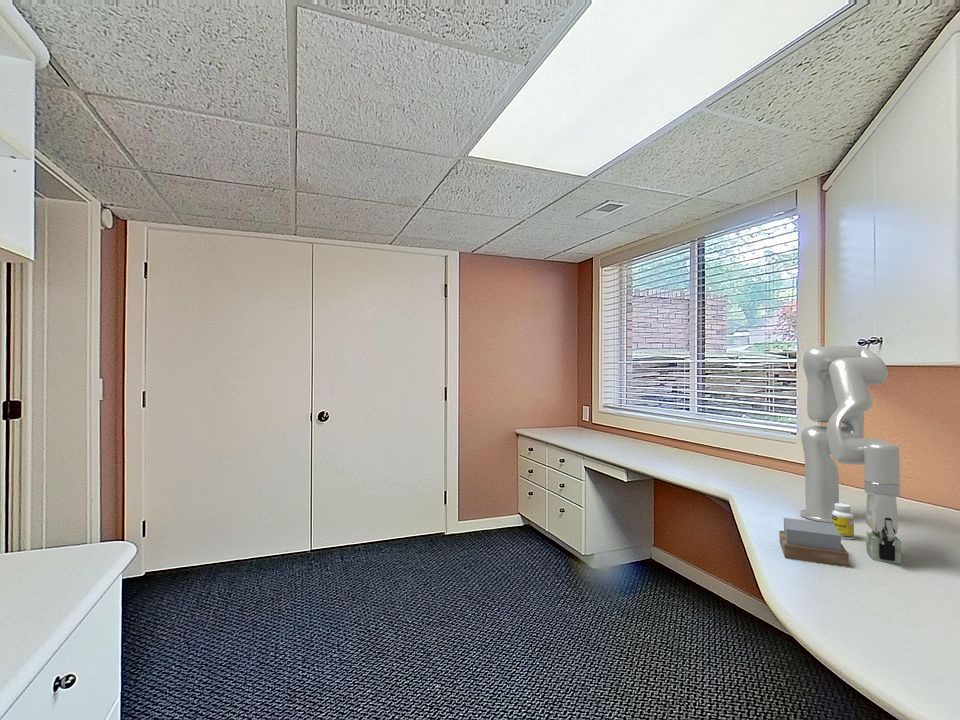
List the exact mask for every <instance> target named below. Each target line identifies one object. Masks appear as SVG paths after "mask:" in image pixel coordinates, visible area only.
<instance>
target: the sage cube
mask: <svg viewBox="0 0 960 720" xmlns="http://www.w3.org/2000/svg"><path fill="white" fill-rule="evenodd" d="M865 533H866V534H865V535H866V540H865V542H866V554H867V556H869V557H870V558H871V561H877V562H884V563H892V564H900V565H901V564H902V543H901V542H902V541H901V540H900V538H898V536H896V535H895V537H894V540H895V561H890V560H883V559H880V558H879V543H880V544H881V542H880V533H879V532H878V533H876V532H872V531H869V530H866V532H865ZM885 536H887V535H883V537H885Z"/></svg>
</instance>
